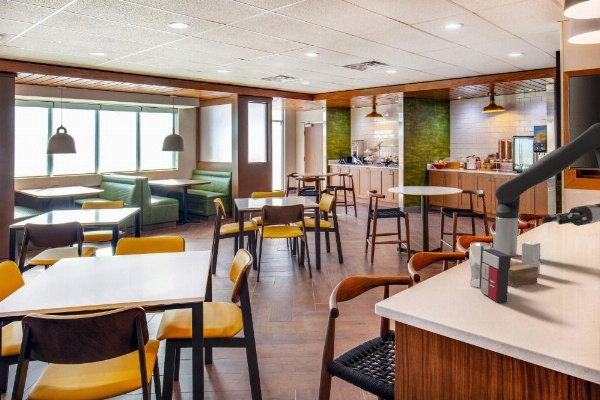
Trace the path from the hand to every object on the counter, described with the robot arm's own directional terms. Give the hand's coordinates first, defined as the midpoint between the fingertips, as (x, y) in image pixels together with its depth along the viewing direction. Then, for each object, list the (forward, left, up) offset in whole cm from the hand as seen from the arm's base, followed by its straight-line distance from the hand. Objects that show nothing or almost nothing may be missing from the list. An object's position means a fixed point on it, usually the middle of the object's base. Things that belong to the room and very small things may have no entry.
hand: (550, 221), depth 181 cm
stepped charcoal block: (+15, -46, -20) cm, 53 cm away
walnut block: (+4, -25, -20) cm, 33 cm away
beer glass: (+3, -40, -20) cm, 45 cm away
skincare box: (0, -10, -20) cm, 23 cm away
